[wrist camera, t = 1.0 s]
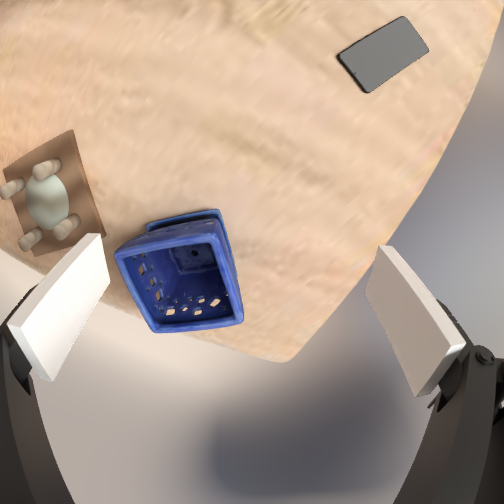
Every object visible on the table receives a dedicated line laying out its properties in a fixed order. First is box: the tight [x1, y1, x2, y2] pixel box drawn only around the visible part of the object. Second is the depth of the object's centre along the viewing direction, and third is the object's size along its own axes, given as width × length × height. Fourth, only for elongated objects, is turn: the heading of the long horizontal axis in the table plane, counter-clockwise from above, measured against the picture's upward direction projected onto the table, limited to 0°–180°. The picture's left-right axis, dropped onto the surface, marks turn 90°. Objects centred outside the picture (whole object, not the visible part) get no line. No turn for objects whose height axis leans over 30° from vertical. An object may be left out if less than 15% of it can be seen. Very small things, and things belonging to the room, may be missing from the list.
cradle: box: [0, 130, 106, 257], centre depth 35 cm, size 18×18×6 cm
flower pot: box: [114, 209, 244, 333], centre depth 37 cm, size 13×13×12 cm
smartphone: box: [338, 16, 429, 93], centre depth 29 cm, size 7×1×15 cm
